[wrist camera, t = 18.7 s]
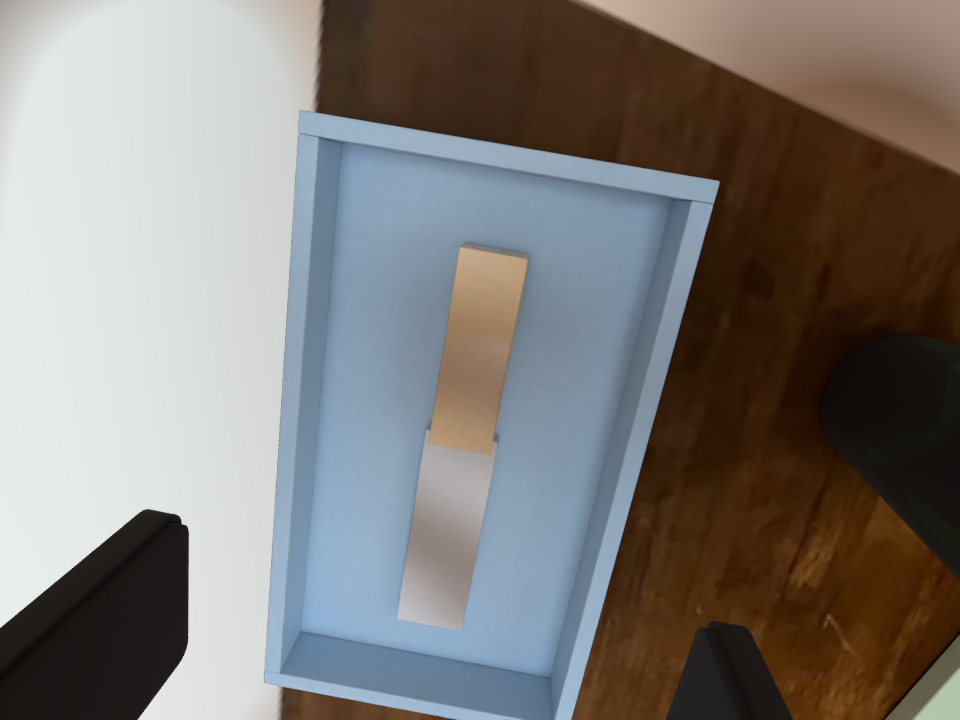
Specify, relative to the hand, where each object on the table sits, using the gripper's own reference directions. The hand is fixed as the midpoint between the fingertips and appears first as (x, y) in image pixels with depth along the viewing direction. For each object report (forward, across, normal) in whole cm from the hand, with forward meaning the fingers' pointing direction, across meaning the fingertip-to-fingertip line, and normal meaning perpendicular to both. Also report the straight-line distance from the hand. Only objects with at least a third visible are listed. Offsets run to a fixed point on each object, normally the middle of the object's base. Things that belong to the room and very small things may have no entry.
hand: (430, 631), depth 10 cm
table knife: (+13, +1, +3) cm, 13 cm away
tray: (+14, +1, +3) cm, 14 cm away
